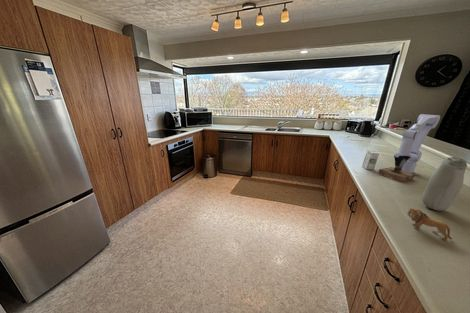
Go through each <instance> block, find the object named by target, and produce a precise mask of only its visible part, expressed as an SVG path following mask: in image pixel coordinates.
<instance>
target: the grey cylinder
mask: <svg viewBox="0 0 470 313" xmlns="http://www.w3.org/2000/svg"><path fill="white" fill-rule="evenodd" d="M405 161H406V159H404V160H403V161H402V162H401V164H400V165H399V166H396V165H395V164H394V167H393V168H394V170H396V171H401V170H402V168H403V166H404V163H405Z"/></svg>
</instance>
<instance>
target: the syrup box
mask: <svg viewBox="0 0 470 313" xmlns="http://www.w3.org/2000/svg"><path fill="white" fill-rule="evenodd" d="M379 155H380V152H379V151H376V150H367V151H366V153H365V155H364V159H363V162H362V166H361V167H362V168H363V169H365V170H371V171H373V170H374V169H375V167H376V164H377V161H378V159H379Z"/></svg>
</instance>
